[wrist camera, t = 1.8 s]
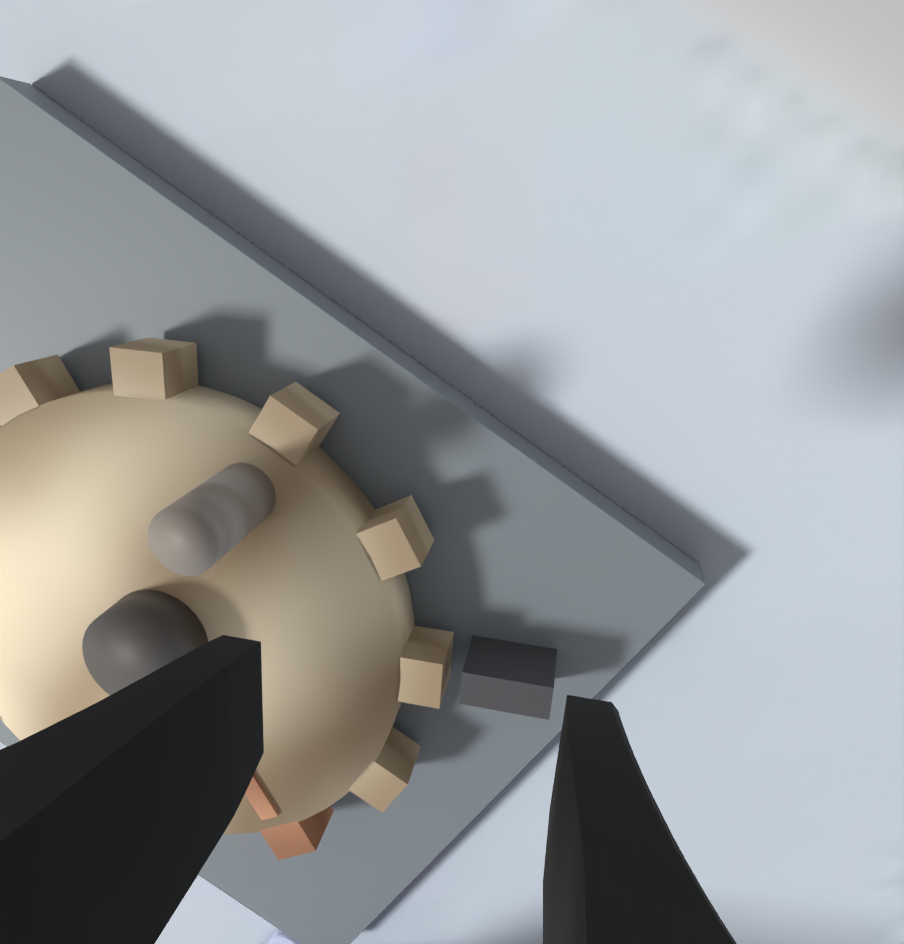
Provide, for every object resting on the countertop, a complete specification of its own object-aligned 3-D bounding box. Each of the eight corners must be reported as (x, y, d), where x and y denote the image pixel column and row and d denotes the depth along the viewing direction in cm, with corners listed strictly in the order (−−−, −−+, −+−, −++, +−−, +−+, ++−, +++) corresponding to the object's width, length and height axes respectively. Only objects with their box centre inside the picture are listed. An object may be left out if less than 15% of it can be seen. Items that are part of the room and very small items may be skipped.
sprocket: (570, 576, 19) (562, 679, 15) (285, 899, 25) (221, 1039, 21) (57, 212, 18) (-108, 209, 14) (-108, 633, 24) (-258, 722, 20)
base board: (698, 563, 20) (716, 620, 17) (341, 933, 27) (312, 1014, 24) (29, 83, 19) (-69, 59, 16) (-151, 601, 26) (-240, 646, 23)
